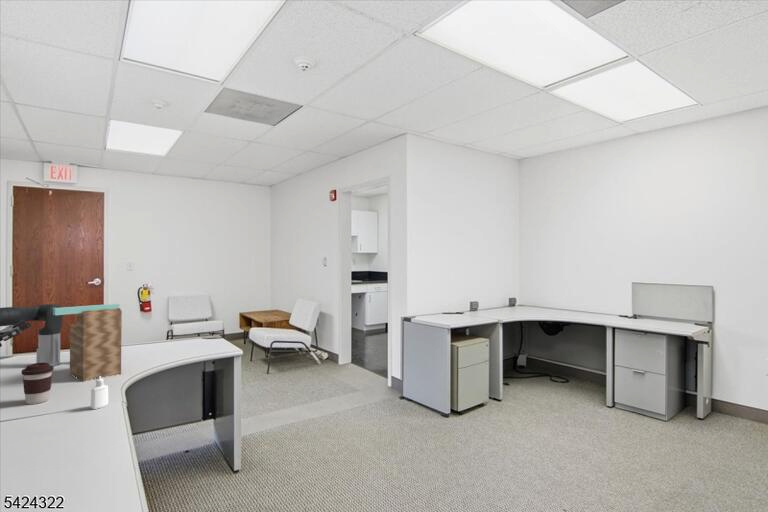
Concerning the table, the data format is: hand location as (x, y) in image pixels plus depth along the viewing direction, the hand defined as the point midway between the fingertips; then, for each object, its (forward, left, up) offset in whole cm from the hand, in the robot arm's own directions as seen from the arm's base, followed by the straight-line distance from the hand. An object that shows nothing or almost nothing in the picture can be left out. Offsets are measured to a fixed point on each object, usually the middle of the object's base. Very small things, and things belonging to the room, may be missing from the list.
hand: (27, 323), depth 182 cm
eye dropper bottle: (+50, -21, -29) cm, 61 cm away
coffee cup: (+20, -16, -29) cm, 39 cm away
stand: (+13, +24, -29) cm, 40 cm away
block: (+14, +17, +3) cm, 22 cm away
